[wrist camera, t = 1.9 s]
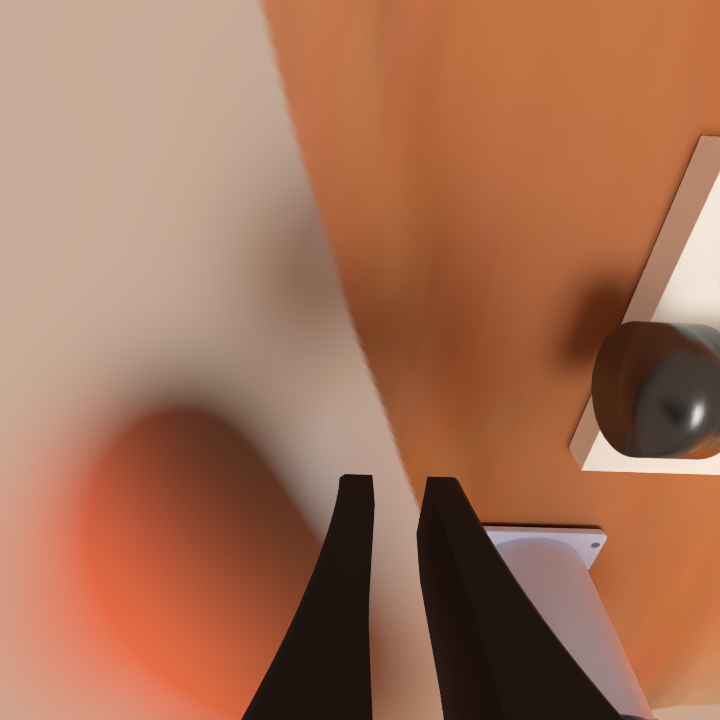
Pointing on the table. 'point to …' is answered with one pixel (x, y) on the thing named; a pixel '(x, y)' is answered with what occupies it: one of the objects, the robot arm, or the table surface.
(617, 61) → the table surface
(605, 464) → the shaft stand
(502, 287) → the table surface
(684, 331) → the shaft
